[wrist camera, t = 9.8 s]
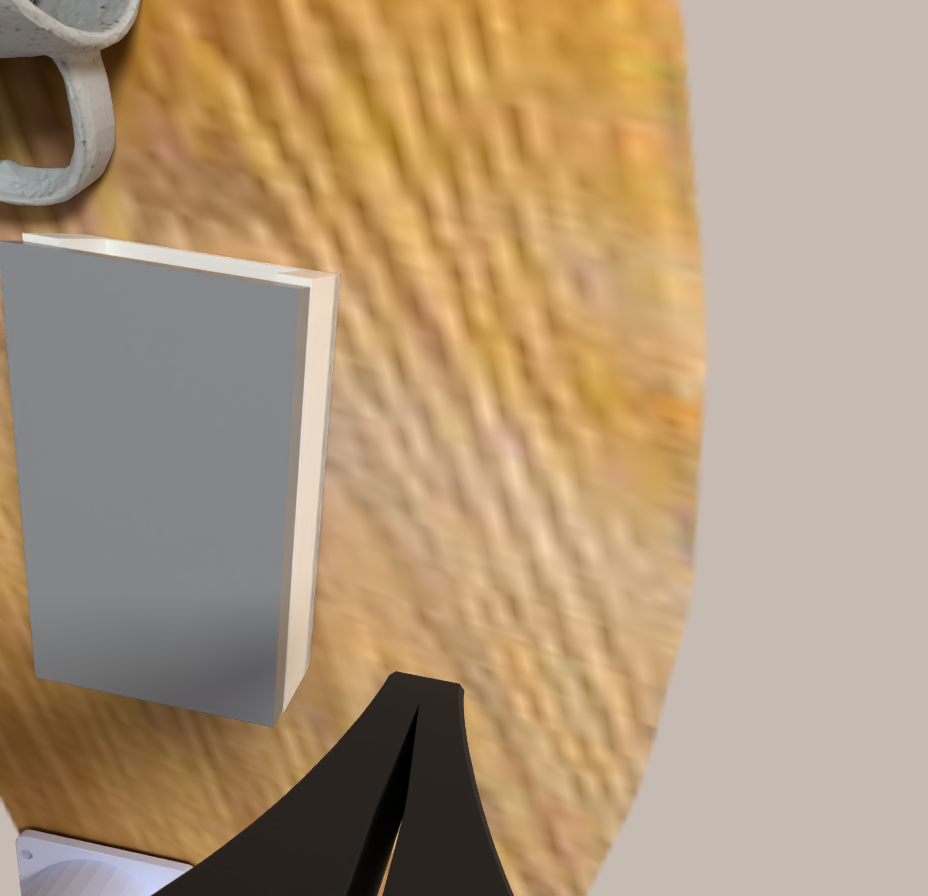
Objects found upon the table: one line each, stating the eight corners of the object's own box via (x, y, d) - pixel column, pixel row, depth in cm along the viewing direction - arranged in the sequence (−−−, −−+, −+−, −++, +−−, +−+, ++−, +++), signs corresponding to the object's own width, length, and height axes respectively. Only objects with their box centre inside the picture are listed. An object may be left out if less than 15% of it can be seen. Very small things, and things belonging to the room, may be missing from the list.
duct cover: (282, 709, 21) (273, 727, 20) (53, 662, 21) (35, 677, 21) (310, 286, 17) (299, 289, 16) (21, 240, 17) (-3, 240, 16)
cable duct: (309, 665, 23) (283, 712, 21) (102, 624, 24) (54, 666, 22) (340, 274, 19) (312, 278, 17) (85, 234, 19) (22, 233, 17)
